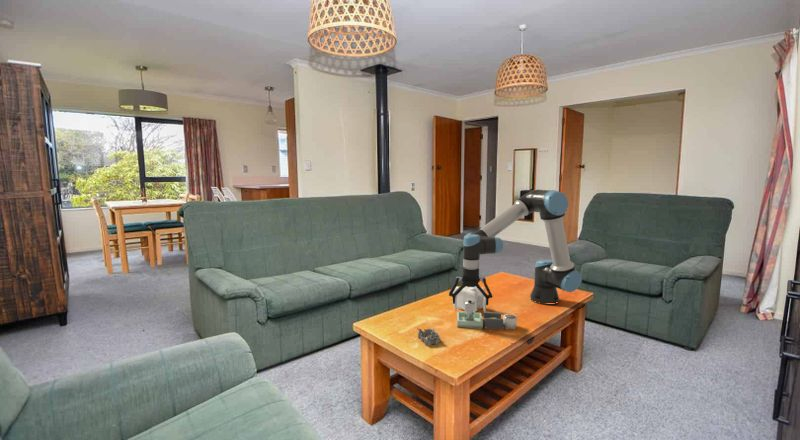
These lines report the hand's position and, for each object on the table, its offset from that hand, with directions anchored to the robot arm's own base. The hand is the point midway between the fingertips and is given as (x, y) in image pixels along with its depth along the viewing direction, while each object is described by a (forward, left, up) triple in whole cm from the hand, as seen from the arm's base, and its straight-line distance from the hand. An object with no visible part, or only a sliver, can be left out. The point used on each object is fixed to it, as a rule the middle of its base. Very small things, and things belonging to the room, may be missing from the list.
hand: (470, 310), depth 175 cm
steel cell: (0, 0, -5) cm, 5 cm away
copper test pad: (-11, +1, -4) cm, 12 cm away
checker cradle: (-11, +1, -6) cm, 12 cm away
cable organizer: (0, -19, -6) cm, 20 cm away
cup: (-18, +2, -6) cm, 19 cm away
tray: (0, 0, -6) cm, 6 cm away
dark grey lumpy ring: (+18, +21, -6) cm, 29 cm away
